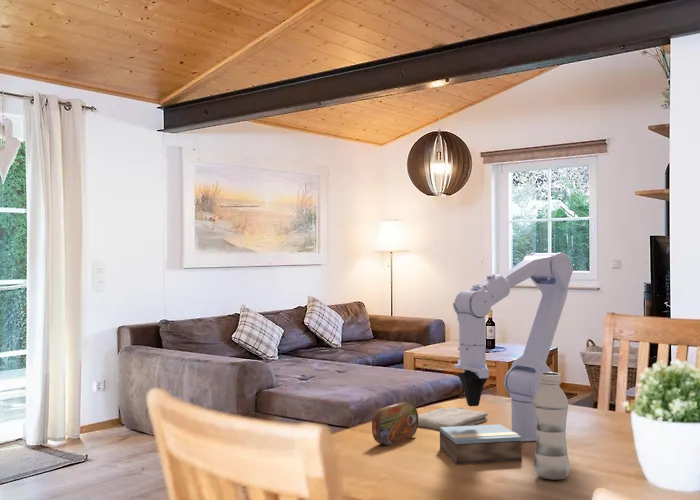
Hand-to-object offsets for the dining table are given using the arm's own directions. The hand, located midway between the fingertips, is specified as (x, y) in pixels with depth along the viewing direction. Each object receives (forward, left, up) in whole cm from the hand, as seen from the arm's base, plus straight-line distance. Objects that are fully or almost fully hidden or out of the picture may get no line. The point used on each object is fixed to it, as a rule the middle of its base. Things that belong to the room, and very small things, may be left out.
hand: (473, 405), depth 162 cm
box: (+1, +6, -9) cm, 11 cm away
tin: (+16, -9, -10) cm, 21 cm away
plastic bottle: (-7, +24, -10) cm, 27 cm away
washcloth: (-3, -24, -10) cm, 26 cm away
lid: (+1, +6, -5) cm, 8 cm away
